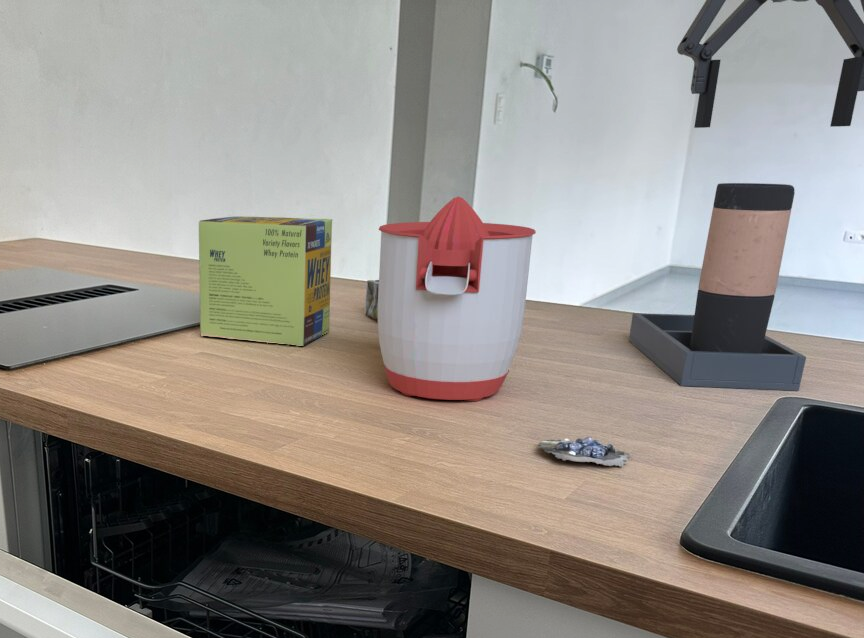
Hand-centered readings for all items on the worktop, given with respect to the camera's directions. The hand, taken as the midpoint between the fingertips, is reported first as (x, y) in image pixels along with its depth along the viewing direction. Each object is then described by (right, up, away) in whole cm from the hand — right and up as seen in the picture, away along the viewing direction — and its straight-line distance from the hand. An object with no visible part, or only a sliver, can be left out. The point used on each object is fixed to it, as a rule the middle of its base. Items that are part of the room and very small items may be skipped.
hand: (770, 127), depth 91 cm
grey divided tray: (0, -23, +14) cm, 27 cm away
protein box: (-53, -18, +28) cm, 63 cm away
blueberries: (-26, -35, -18) cm, 47 cm away
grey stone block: (-31, -16, +35) cm, 50 cm away
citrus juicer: (-34, -28, +2) cm, 44 cm away
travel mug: (-1, -25, +8) cm, 26 cm away
